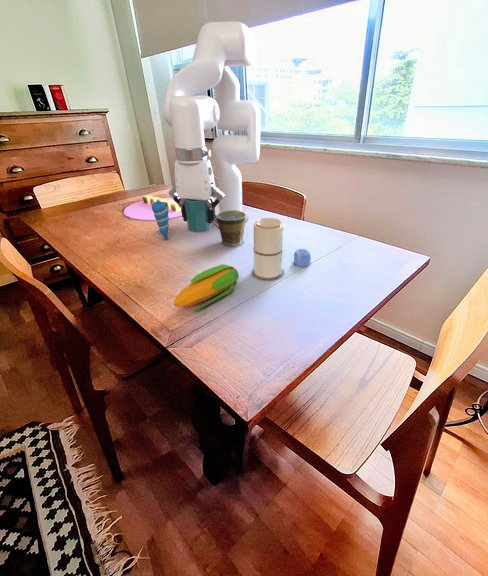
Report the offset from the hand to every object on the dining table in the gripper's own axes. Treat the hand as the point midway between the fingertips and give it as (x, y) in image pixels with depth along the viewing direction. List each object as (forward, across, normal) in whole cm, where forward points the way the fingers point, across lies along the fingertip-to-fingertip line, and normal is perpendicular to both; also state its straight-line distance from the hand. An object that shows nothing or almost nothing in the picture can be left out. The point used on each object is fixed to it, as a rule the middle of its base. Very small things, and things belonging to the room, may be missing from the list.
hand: (199, 220), depth 86 cm
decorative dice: (+13, -30, -5) cm, 33 cm away
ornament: (+14, +20, -12) cm, 27 cm away
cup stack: (+13, -21, +3) cm, 25 cm away
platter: (+14, +40, -44) cm, 61 cm away
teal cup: (+2, 0, 0) cm, 2 cm away
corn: (+13, -9, +19) cm, 25 cm away
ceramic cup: (+14, -3, -15) cm, 21 cm away
